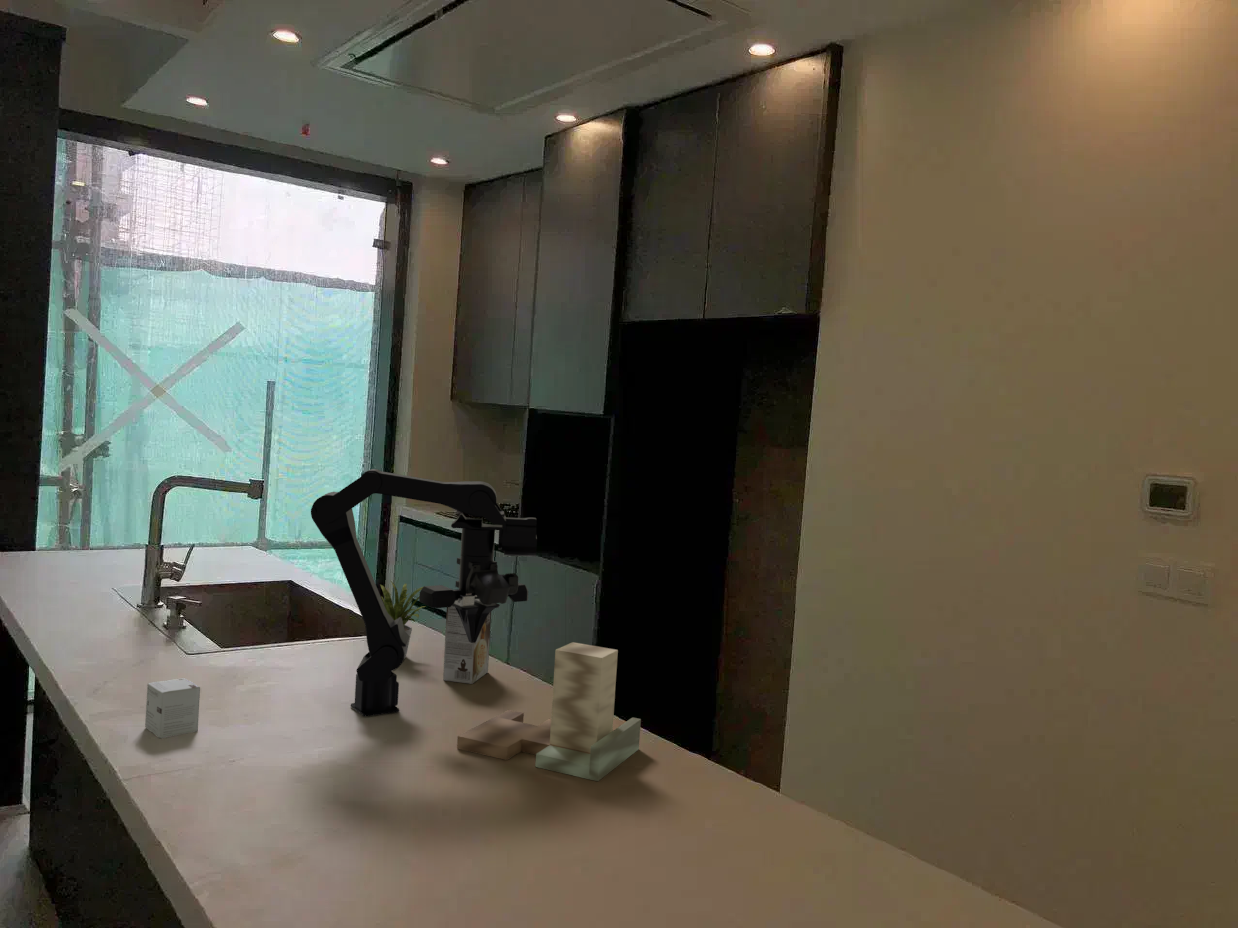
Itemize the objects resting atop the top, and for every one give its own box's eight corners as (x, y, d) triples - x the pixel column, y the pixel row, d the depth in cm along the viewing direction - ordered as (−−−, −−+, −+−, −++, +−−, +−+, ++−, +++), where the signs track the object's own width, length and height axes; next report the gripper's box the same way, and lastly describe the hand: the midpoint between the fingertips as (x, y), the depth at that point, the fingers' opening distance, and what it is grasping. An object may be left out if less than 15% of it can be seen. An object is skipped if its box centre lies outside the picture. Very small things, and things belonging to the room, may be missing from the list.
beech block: (549, 743, 153) (555, 649, 152) (566, 733, 159) (572, 642, 158) (595, 754, 150) (602, 657, 149) (611, 742, 155) (617, 649, 154)
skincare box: (144, 728, 154) (146, 682, 153) (183, 721, 158) (185, 676, 158) (159, 739, 150) (161, 692, 149) (199, 731, 154) (201, 685, 154)
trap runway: (457, 748, 154) (458, 717, 154) (507, 721, 169) (509, 692, 168) (597, 781, 144) (600, 748, 144) (638, 749, 159) (640, 719, 159)
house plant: (446, 654, 209) (450, 579, 208) (412, 670, 196) (416, 589, 195) (388, 645, 214) (392, 571, 213) (351, 659, 201) (355, 581, 200)
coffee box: (458, 668, 199) (463, 591, 198) (488, 672, 198) (493, 594, 197) (441, 680, 190) (446, 599, 189) (473, 684, 189) (477, 602, 188)
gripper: (449, 564, 158) (444, 659, 159) (547, 559, 169) (541, 648, 170) (420, 553, 167) (415, 643, 168) (514, 549, 178) (509, 633, 179)
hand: (472, 642), depth 171 cm, fingers closed
